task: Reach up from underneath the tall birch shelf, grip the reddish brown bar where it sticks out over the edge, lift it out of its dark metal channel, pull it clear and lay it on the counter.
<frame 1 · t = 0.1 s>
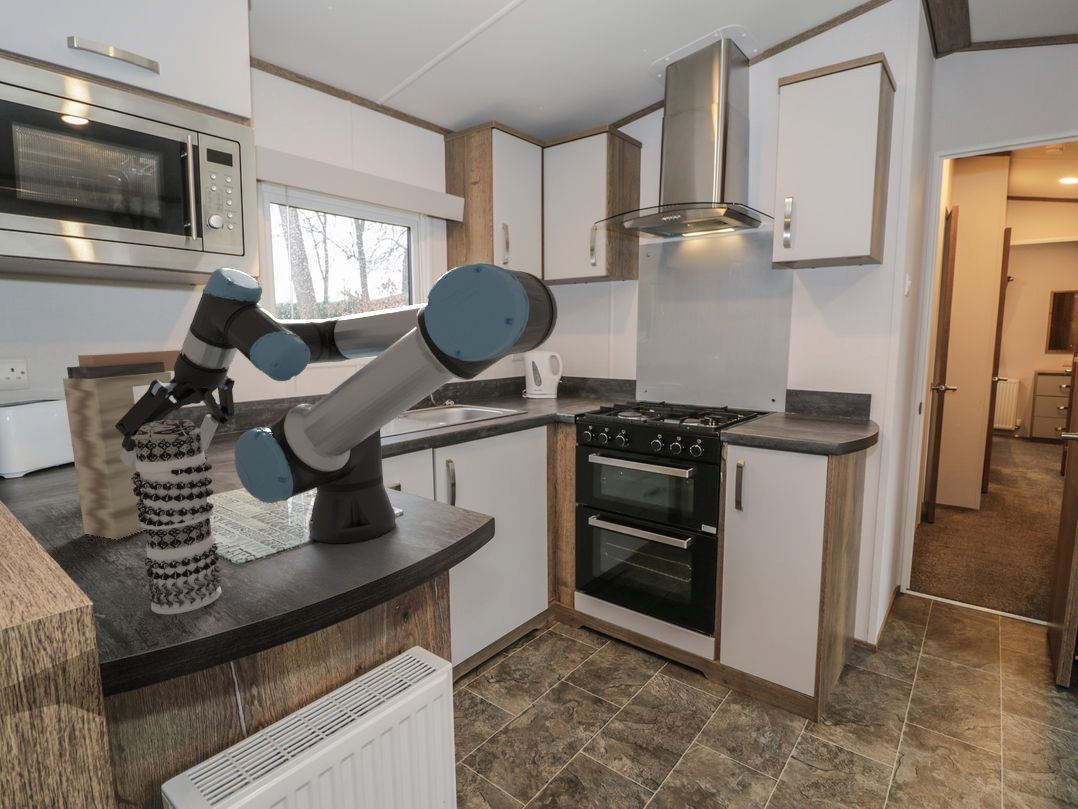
hand: (165, 453, 102), 15 cm above the countertop, tool tilted 35°, fingers open, 13 cm apart
decorative candle: (187, 600, 80), on the countertop
sauce bottle: (139, 493, 133), on the countertop
reddish brown bar: (144, 372, 111), point 29 cm above the countertop, touching shelf stand
shelf stand: (138, 524, 111), on the countertop
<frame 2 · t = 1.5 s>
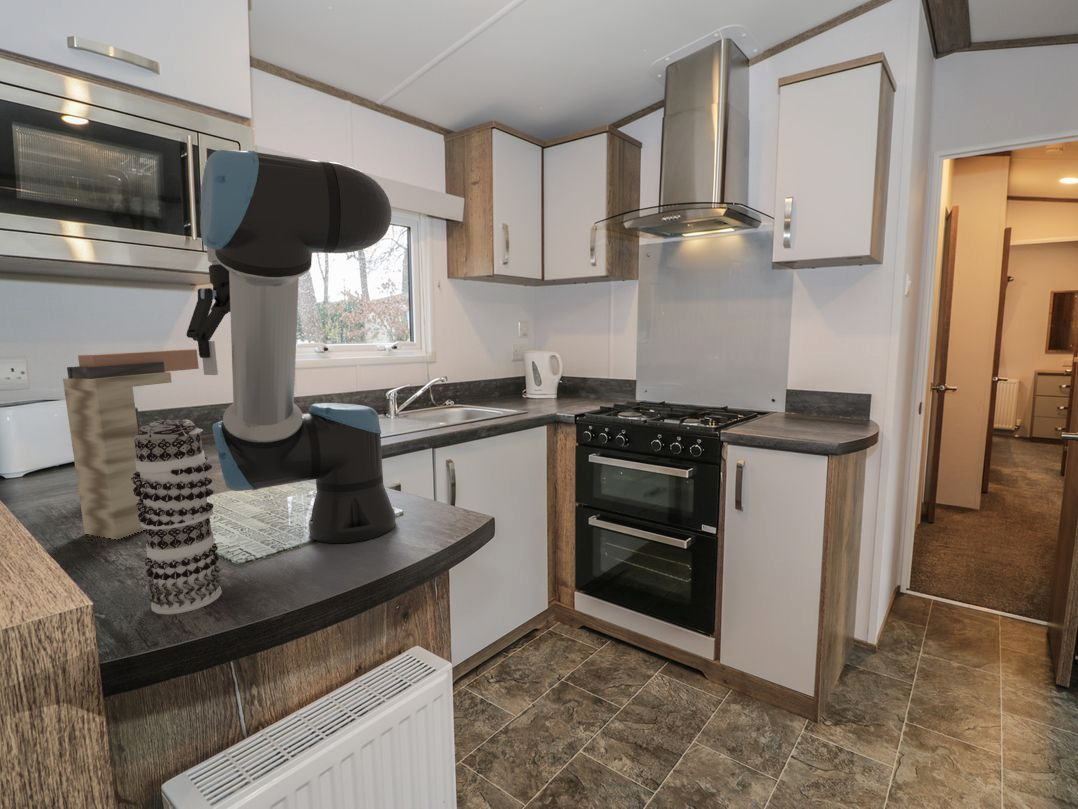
hand: (240, 371, 117), 28 cm above the countertop, tool pointing down, fingers open, 13 cm apart
nothing on the countertop moved.
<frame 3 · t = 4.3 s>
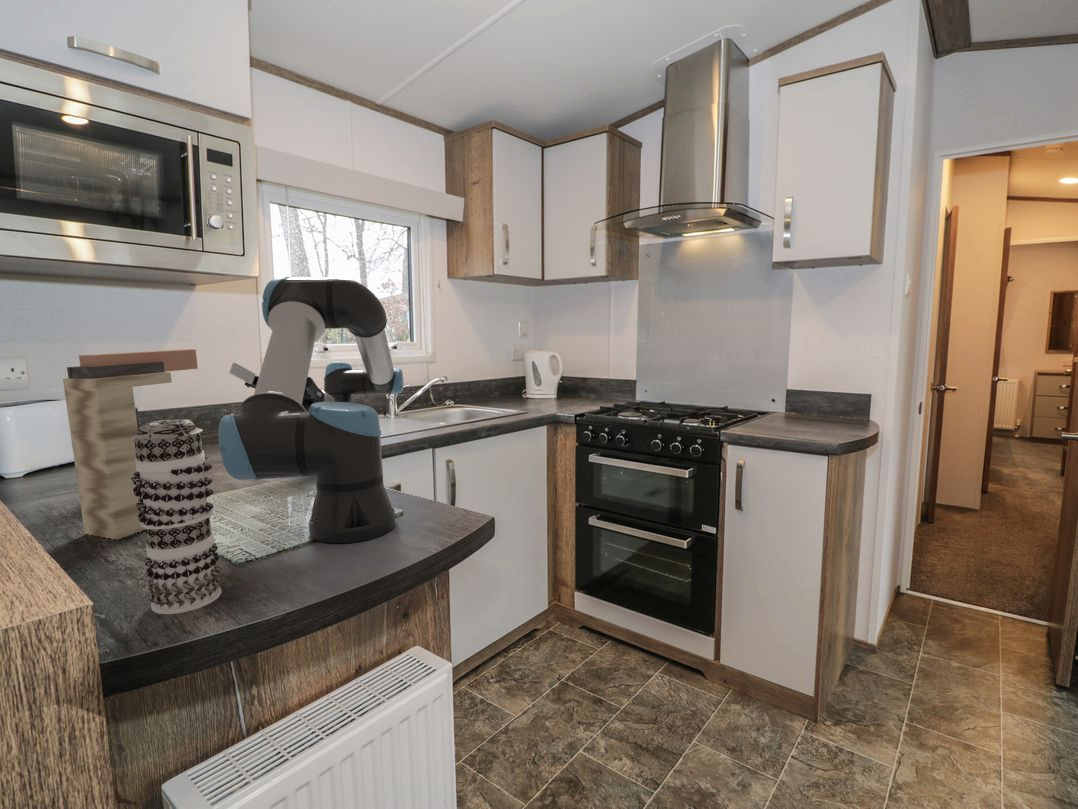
hand: (253, 368, 135), 28 cm above the countertop, tool pointing upward, fingers open, 13 cm apart
nothing on the countertop moved.
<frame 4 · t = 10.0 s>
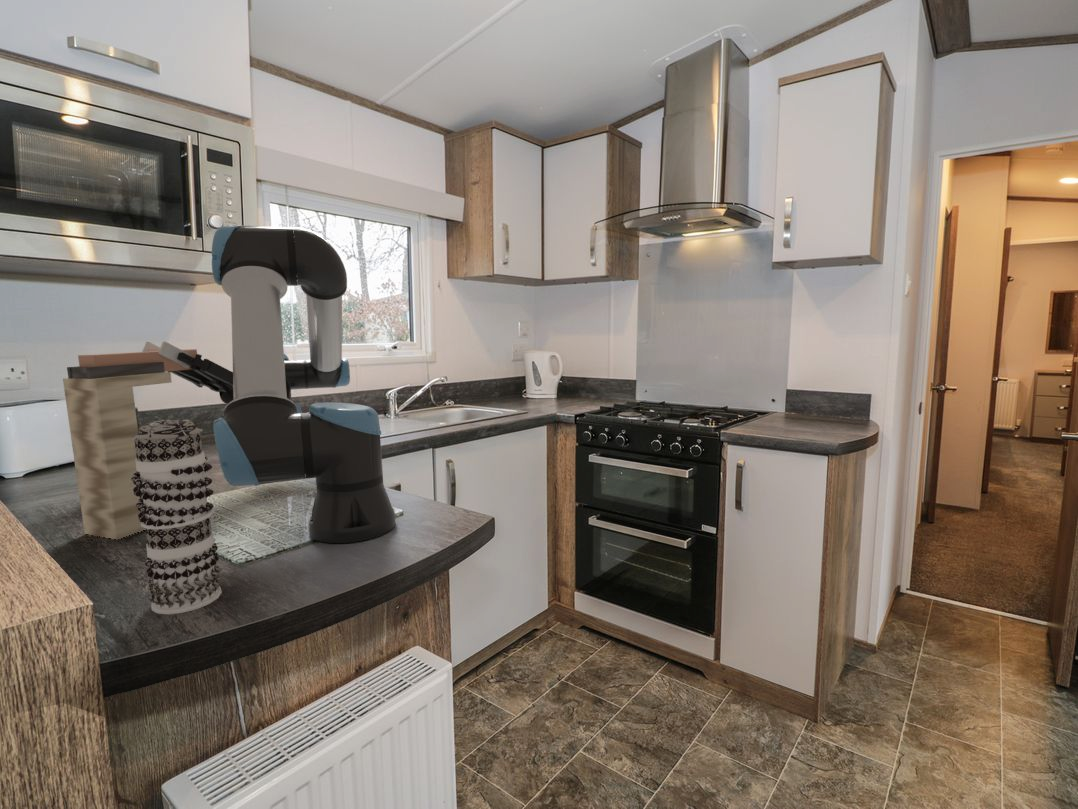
hand: (153, 347, 112), 34 cm above the countertop, tool pointing upward, fingers closed on reddish brown bar, 4 cm apart
reddish brown bar: (144, 372, 111), point 29 cm above the countertop, touching gripper, shelf stand
everything else where it was.
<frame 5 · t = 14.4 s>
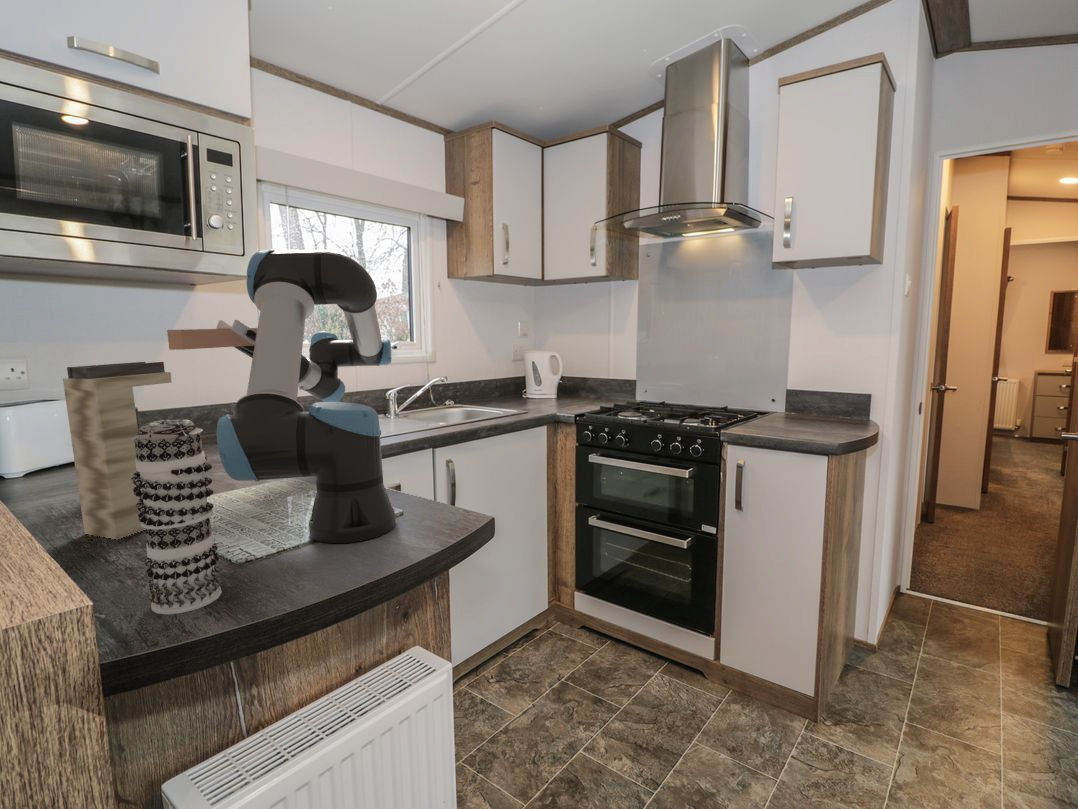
hand: (226, 325, 128), 38 cm above the countertop, tool pointing upward, fingers closed on reddish brown bar, 4 cm apart
reddish brown bar: (219, 347, 126), point 33 cm above the countertop, touching gripper
everything else where it was.
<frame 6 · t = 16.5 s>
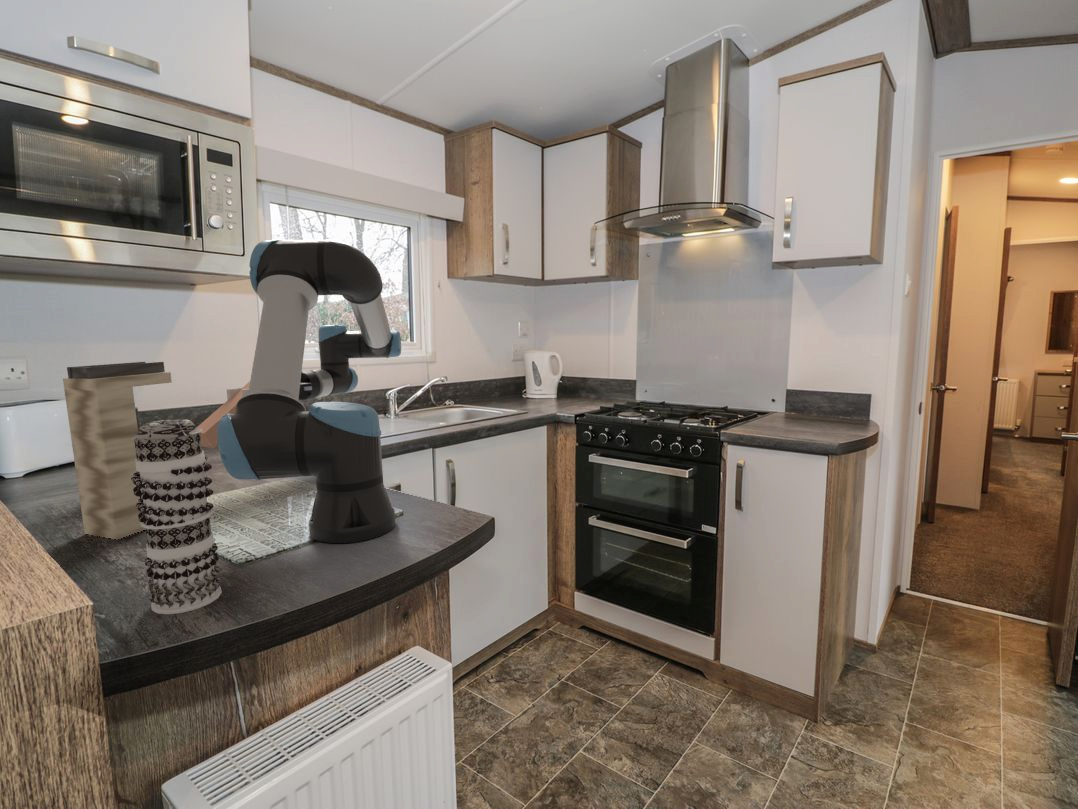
hand: (236, 395, 130), 22 cm above the countertop, tool horizontal, fingers closed on reddish brown bar, 4 cm apart
reddish brown bar: (239, 418, 131), point 17 cm above the countertop, tilted 30°, touching gripper
everything else where it was.
when the fingers open (13 cm above the countertop, at t = 18.9 s): reddish brown bar drops 8 cm, on the countertop.
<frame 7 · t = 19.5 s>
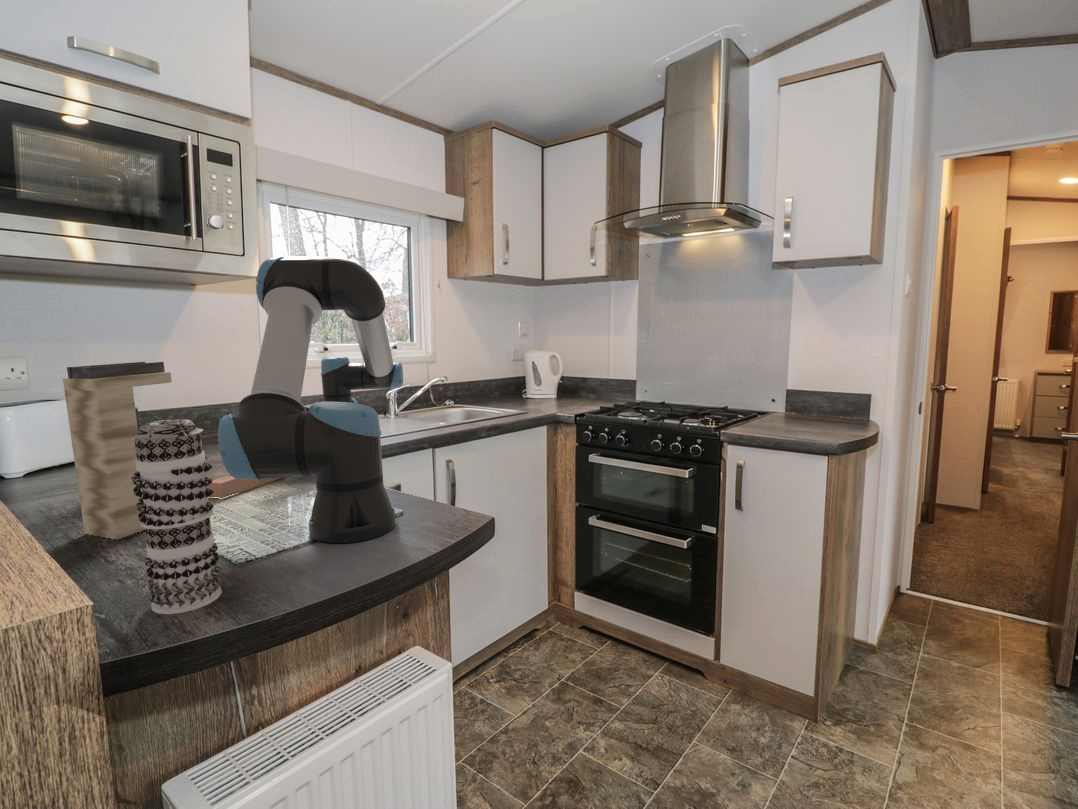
hand: (246, 432, 133), 13 cm above the countertop, tool horizontal, fingers open, 12 cm apart
reddish brown bar: (250, 487, 136), on the countertop
everything else where it was.
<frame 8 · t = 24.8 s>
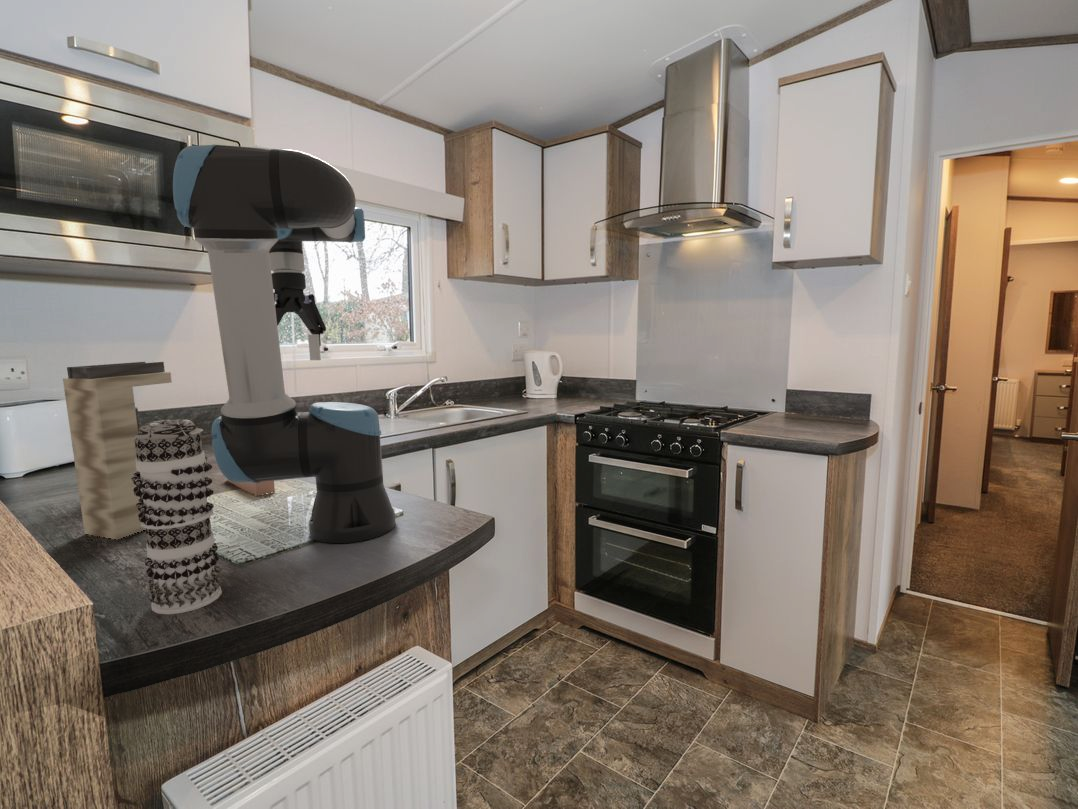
hand: (295, 362, 139), 29 cm above the countertop, tool pointing down, fingers open, 13 cm apart
at the end: reddish brown bar on the countertop; reddish brown bar inside the target area (1.3 cm from its centre), on the countertop; the gripper is holding nothing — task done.
